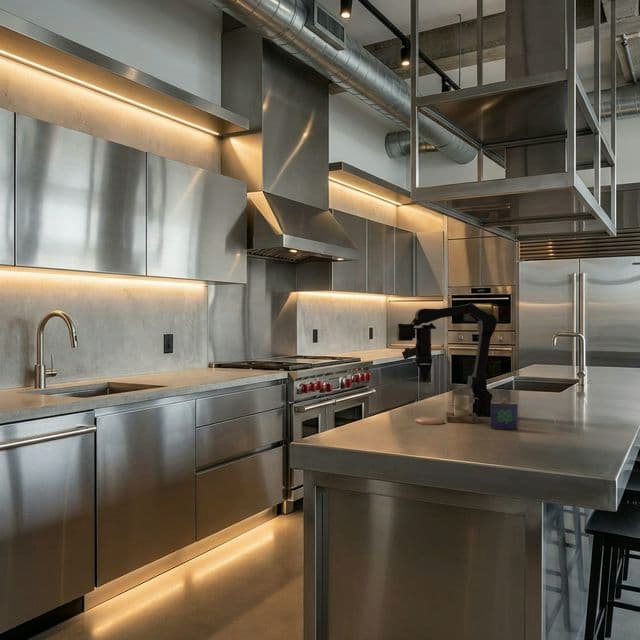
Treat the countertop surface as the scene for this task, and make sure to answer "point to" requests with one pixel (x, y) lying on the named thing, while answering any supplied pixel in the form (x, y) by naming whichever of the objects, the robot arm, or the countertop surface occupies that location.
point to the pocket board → (461, 418)
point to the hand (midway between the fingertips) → (424, 380)
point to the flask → (504, 415)
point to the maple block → (461, 405)
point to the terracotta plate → (429, 421)
